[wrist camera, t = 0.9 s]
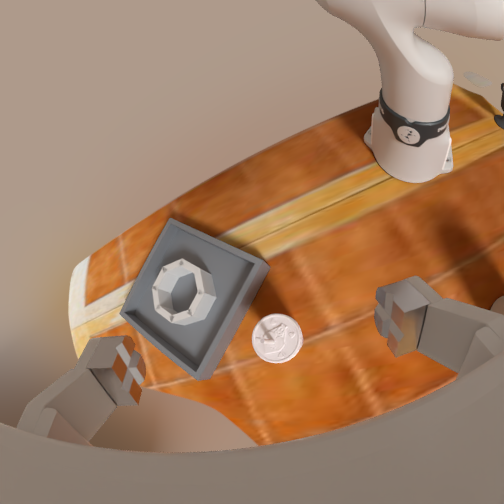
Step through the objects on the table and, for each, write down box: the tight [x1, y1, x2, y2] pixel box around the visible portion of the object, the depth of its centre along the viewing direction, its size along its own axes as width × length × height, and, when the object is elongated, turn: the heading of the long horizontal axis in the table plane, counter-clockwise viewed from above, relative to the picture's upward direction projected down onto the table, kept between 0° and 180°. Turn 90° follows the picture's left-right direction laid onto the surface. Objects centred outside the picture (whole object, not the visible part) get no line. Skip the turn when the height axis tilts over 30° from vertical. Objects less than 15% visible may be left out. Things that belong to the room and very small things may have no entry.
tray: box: [120, 218, 270, 381], centre depth 48 cm, size 22×22×5 cm
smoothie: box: [252, 314, 303, 363], centre depth 36 cm, size 6×6×14 cm
